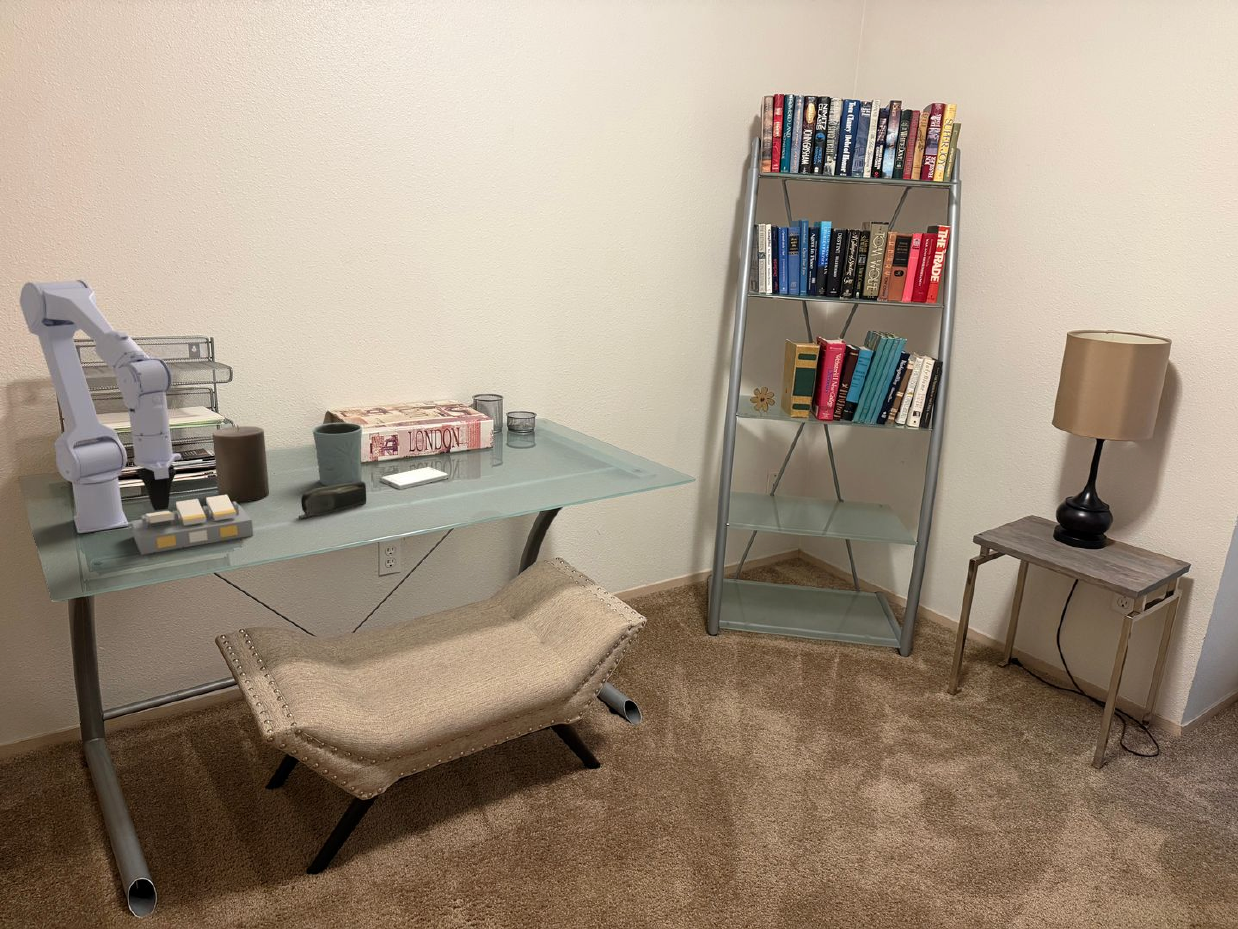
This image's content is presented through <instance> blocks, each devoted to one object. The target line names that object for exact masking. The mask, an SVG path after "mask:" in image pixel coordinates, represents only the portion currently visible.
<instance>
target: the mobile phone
mask: <svg viewBox="0 0 1238 929" xmlns="http://www.w3.org/2000/svg"><path fill="white" fill-rule="evenodd" d="M301 496H302V497H301V500H300V501H301V502H300V503H301V509H302V511H303V514H302V515H301V514H300V515H298V519H300V520H302V519H307V518H310V517H314V516H318V515H323V514H327V513H332V512H337V511H340V510H346V509H351V508H353V507H358V506H362V505H364V504H366V503H367V485H366V482H364V481H362V480H360V481H358V482H353V483H346V484H340V485H335V486H323V487H317V488H313V489H311V490H309V491H307V492H305V493H303V494H302V495H301Z"/></svg>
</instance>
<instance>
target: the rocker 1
mask: <svg viewBox="0 0 1238 929" xmlns="http://www.w3.org/2000/svg"><path fill="white" fill-rule="evenodd" d="M145 517H146V520H148V521H149V522H150V523H155V522H161V521H168V520H174V514H173V512H171V511H169V510H161V511H155V512H149V513H145Z"/></svg>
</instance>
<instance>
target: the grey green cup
mask: <svg viewBox="0 0 1238 929" xmlns="http://www.w3.org/2000/svg"><path fill="white" fill-rule="evenodd" d="M362 433H363V427H362V426H361V425H360V424H357V423H353V422H330V423H324V424H319V425H317V426H315V427H313V429H312V434H313V439H314V444H315V450H316V459H317V465H318V476H319V481H320V484H321V485H324V486H325V487H328V486H335V485H340V484H346V483H353V482H358V481H362V465H361V462H362V438H363V437H362V435H363V434H362Z"/></svg>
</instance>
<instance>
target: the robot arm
mask: <svg viewBox="0 0 1238 929" xmlns="http://www.w3.org/2000/svg"><path fill="white" fill-rule="evenodd" d="M19 305H20V308H21V311H22V315H23V317H24V320H25V324H26V326H27V328H28V332H29V333H30V334H32V335H35V336H37V337H38V340H39V343H40V346H41V350H42V353H43V357H44V359H45V363H46V365H47V369H48V371H49V375H50V378H51V381H52V385H53V387H54V390H55V391H54V392H55V394H56V397H57V399H58V400H57V401H58V403H59V406H60V410H61V413H62V416H63V419H64V423H65V426H66V429H65V430H64V431H63V432H62V433H61V434H60V436H58V438H57V439H56V440H55V442H54V443H53V444H54V448H55V454H56V456H55V461H56V467H57V470H58V472H59V474H60V475H61V476H62V478H64V479H65V480H67V482H71V483H72V491H73V497H74V504H75V510H76V515H74V516H73V519H74V520H73V521H74V524H75V528H76V530H77V533H78V534H84V533H85V534H86V533H92V532H97V531H103V530H104V531H105V530H110V529H111V530H112V529H116V528H122V527H123V528H124V527H128V526H129V522H128V520H127V517H126V515H125V512H124V511H123V505H122V498H121V490H120V484H119V476H122V471H123V470H124V469H125V468H126V465H127V461H128V456H127V451H126V448H125V446H124V445H123V444H122V442H121V440H120V438H119V436H118V434H117V431H116V430H115V429H114V428H112V427H110V426H107V425H105V424H103V423H101V422H100V421H99V418H98V415H97V414H98V413H97V412H96V408H95V405H94V402H93V398H92V396H91V393H90V389H89V385H88V383H87V380H86V376H85V372H84V370H83V366H82V363H81V361H80V357H79V354H78V351H77V348H76V344H75V341H74V336H75V335H76V332H78V331H80V330H81V331H83V333H85V335H87V336H88V337H89V338H90V339H91V340H92V341H94V342H95V349H94V350H95V353H96V355H97V356H98V357H99V359H101V360H102V361H103V363H104V364H105V365H106V366H107V367H108V368H109V369H110V370H111V371H112V372H113V373H114V374H115V375H116V379H115V381H116V384H117V388H118V389H119V391H120V393H121V396H122V400H123V404H124V406H125V408H128V415H129V424H130V430H131V432H130V433H131V438H132V439H131V440H132V446H133V453H134V454H133V455H134V458H133V463H134V464H133V465H135V466H138V467H140V468H137V469H136V470H135V472H136V474H137V476H138V477H139V478H140V479H141V481H142V483H143V484H144V486H145V489H146V491H147V492H146V493H147V495H148V499H149V501H150V504H151V506H152V508H153V511H155V512H158V511H165V510H168V509H169V504H170V494H171V487H172V484H173V481H174V478H175V476H176V473H177V471H176V469H175V466H174V465H173V464H174V463H175V462H174V461H178V460H181V459H182V455H181V453H174V451H173V444H172V436H171V428H170V426H171V425H170V419H169V409H168V402H167V394H166V393H168V392H169V391H170V390H171V388H172V385H173V384H172V383H173V378H172V373H171V370H170V368H169V366H168V365H167V363H166V362H165V360H164V359H162V358H160V357H154V356H153V355H147V353H146V352H145V351H144V350H143V349H142V348H141V347H140V346H139V345H138V344H137V343H136V342H135V341H134V340H133V338H132V337H130V335H129V334H128V333H127V332H125V331H122V330H116V329H114V327H113V326H112V325H111V324H110V322H109V321H108V320H107V319H106V316H104V314H103V313H102V312H101V310H100V309H99V308H98V305H97V297H96V292H95V291H94V289H93V288H92V286H91V285H90V284H89V283H88V282H87V281H85V280H83V279H78V280H73V281H72V280H71V281H69V280H68V281H47V282H33V281H29V282H25V283H24V284H23V287H22V288H21V291H20V296H19ZM92 440H95V441H92ZM87 441H91V442H87ZM82 442H86V443H82ZM77 443H82V444H77Z"/></svg>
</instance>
